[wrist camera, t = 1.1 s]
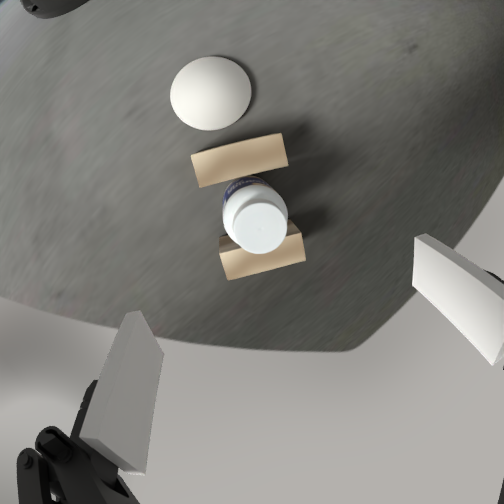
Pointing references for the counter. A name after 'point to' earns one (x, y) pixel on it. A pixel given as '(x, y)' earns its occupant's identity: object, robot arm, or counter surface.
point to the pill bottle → (254, 215)
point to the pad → (210, 93)
